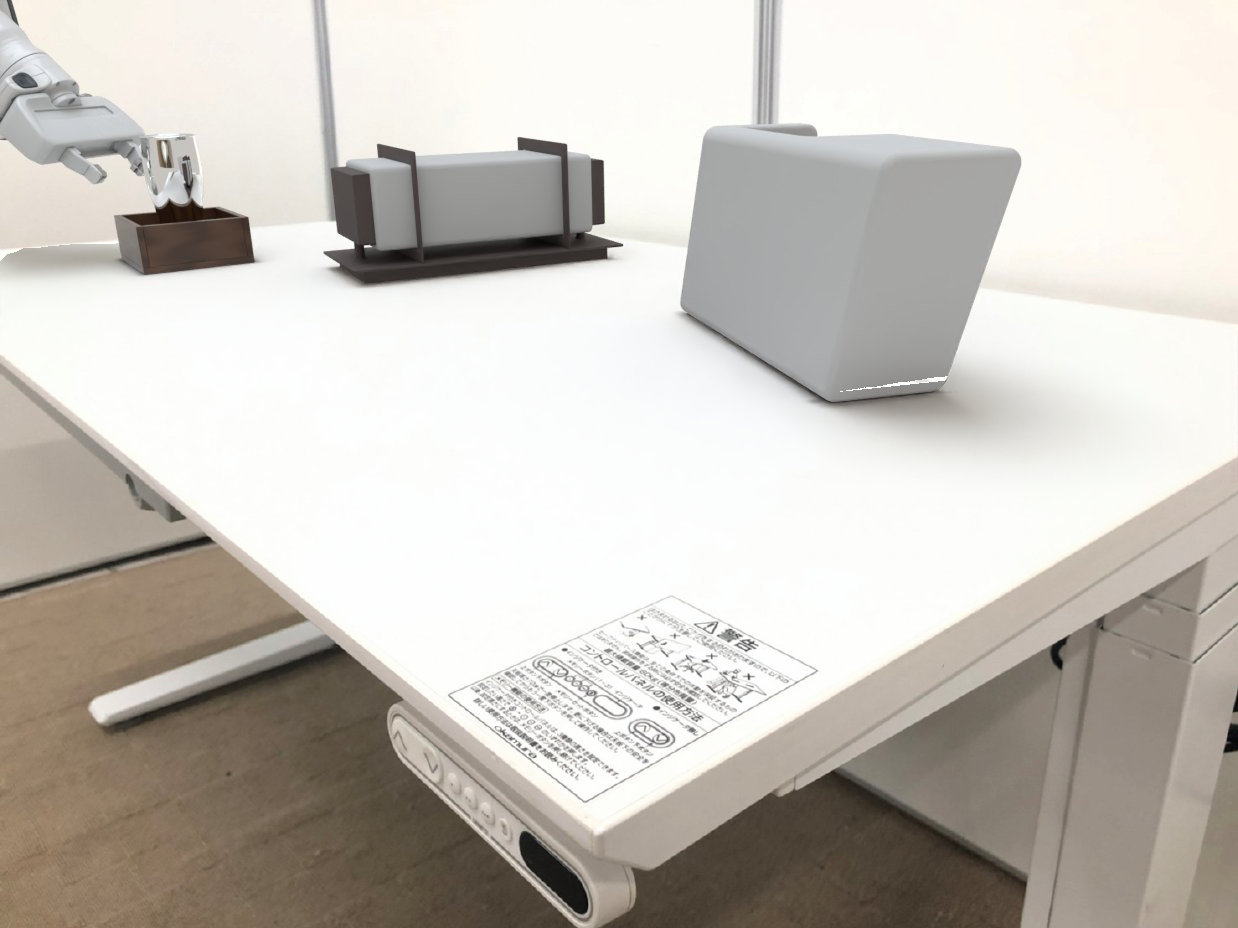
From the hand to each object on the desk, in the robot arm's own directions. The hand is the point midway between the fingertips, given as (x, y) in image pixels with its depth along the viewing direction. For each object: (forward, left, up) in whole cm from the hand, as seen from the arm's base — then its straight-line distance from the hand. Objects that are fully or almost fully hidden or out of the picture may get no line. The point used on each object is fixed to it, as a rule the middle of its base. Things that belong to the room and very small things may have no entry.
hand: (124, 176), depth 136 cm
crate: (+5, -5, -11) cm, 13 cm away
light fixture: (+34, -31, -11) cm, 47 cm away
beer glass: (+5, -5, -10) cm, 12 cm away
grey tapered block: (+36, -89, -11) cm, 96 cm away
